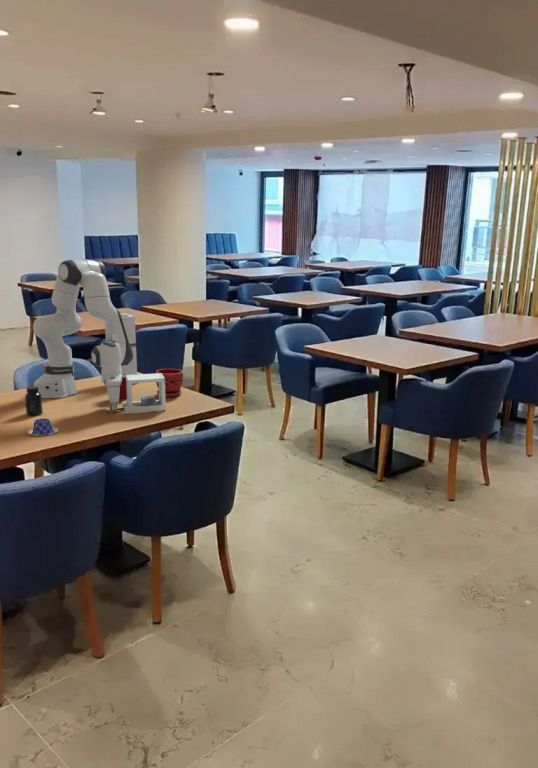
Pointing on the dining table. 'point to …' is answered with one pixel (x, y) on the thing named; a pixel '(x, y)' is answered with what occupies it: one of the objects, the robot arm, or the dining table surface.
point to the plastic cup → (123, 387)
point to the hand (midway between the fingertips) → (113, 407)
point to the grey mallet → (144, 402)
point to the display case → (131, 335)
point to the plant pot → (171, 386)
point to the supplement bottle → (33, 401)
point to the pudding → (42, 427)
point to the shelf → (136, 406)
